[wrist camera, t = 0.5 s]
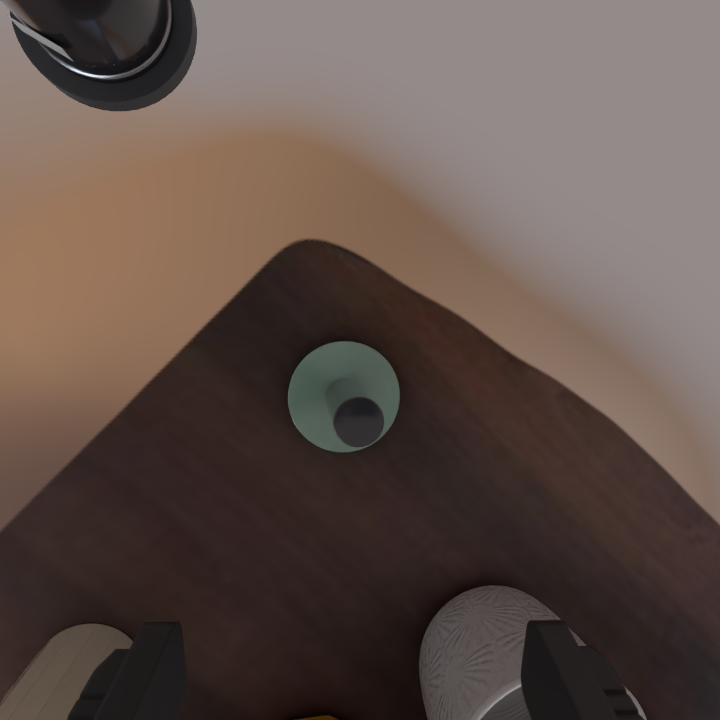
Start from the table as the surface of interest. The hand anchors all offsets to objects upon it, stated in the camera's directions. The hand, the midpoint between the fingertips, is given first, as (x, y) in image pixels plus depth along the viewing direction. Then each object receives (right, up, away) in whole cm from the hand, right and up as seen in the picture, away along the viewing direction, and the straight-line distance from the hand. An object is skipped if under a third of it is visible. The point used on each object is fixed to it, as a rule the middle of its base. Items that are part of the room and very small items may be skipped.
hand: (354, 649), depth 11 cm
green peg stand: (-1, +4, +23) cm, 24 cm away
